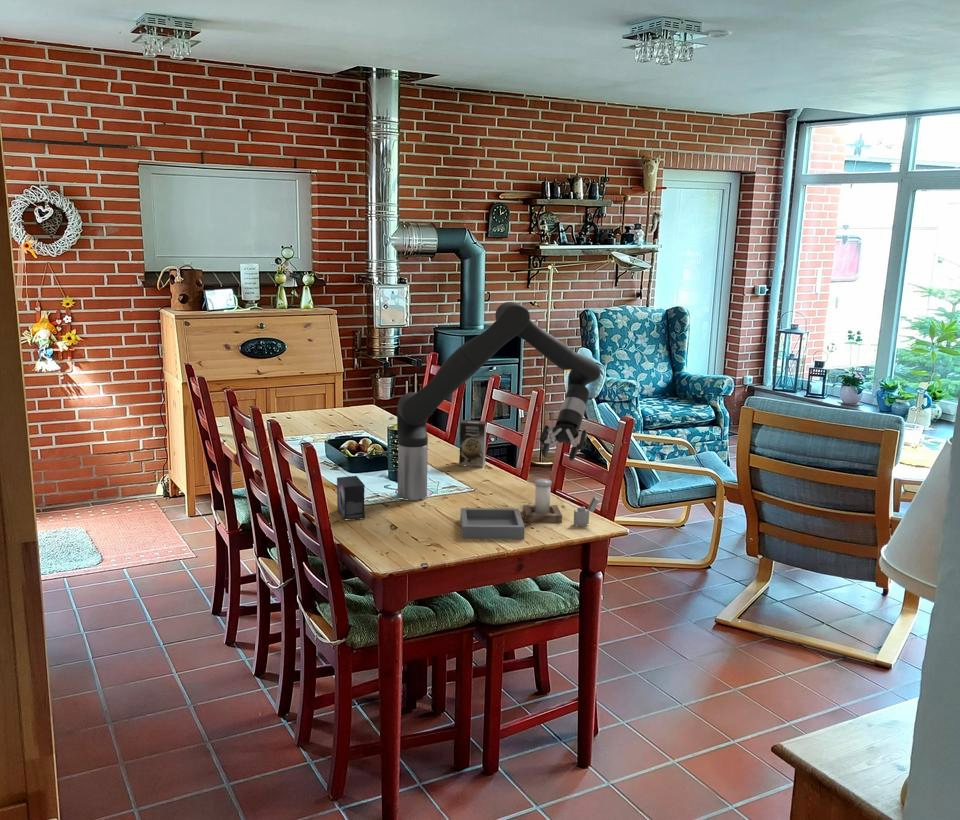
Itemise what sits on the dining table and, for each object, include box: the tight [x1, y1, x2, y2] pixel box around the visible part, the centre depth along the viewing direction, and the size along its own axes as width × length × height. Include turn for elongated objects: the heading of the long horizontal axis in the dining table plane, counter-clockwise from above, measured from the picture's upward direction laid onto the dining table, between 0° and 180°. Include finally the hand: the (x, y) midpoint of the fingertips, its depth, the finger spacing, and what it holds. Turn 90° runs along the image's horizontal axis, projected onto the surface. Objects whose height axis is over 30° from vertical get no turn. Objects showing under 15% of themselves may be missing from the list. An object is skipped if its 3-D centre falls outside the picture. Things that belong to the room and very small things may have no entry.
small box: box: [336, 475, 366, 520], centre depth 261 cm, size 11×6×10 cm, turn 21°
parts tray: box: [460, 507, 526, 540], centre depth 252 cm, size 17×17×4 cm
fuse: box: [534, 478, 553, 514], centre depth 264 cm, size 5×5×11 cm
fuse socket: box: [522, 504, 563, 523], centre depth 265 cm, size 10×10×2 cm
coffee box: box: [458, 419, 487, 467], centre depth 322 cm, size 9×6×16 cm
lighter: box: [573, 496, 600, 526], centre depth 258 cm, size 7×2×8 cm, turn 105°
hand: (557, 457), depth 273 cm, fingers open, 8 cm apart
